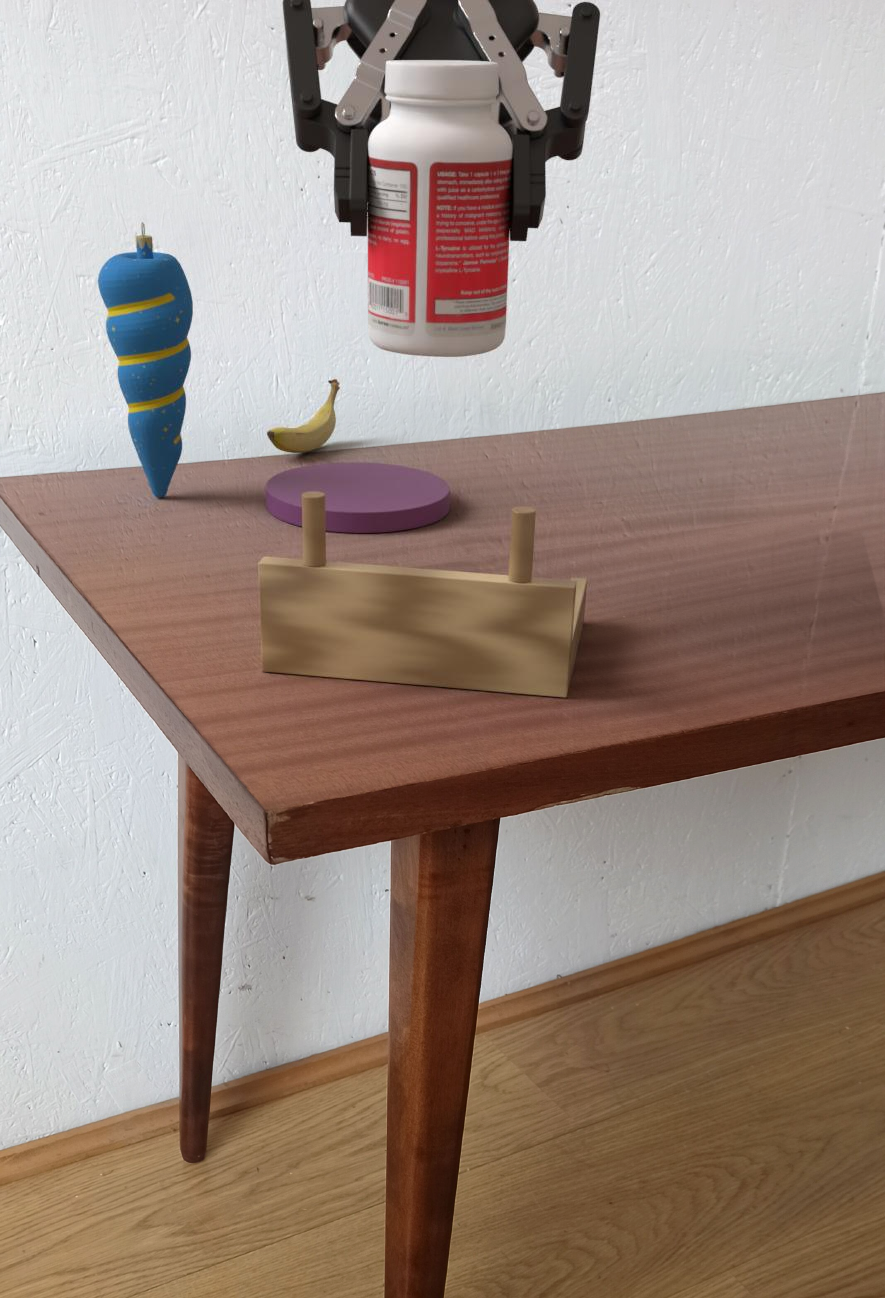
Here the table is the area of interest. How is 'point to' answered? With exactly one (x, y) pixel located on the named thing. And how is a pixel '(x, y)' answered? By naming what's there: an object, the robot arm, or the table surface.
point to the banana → (308, 428)
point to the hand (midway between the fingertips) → (439, 225)
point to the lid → (361, 496)
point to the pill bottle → (439, 211)
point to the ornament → (150, 351)
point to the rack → (420, 618)
